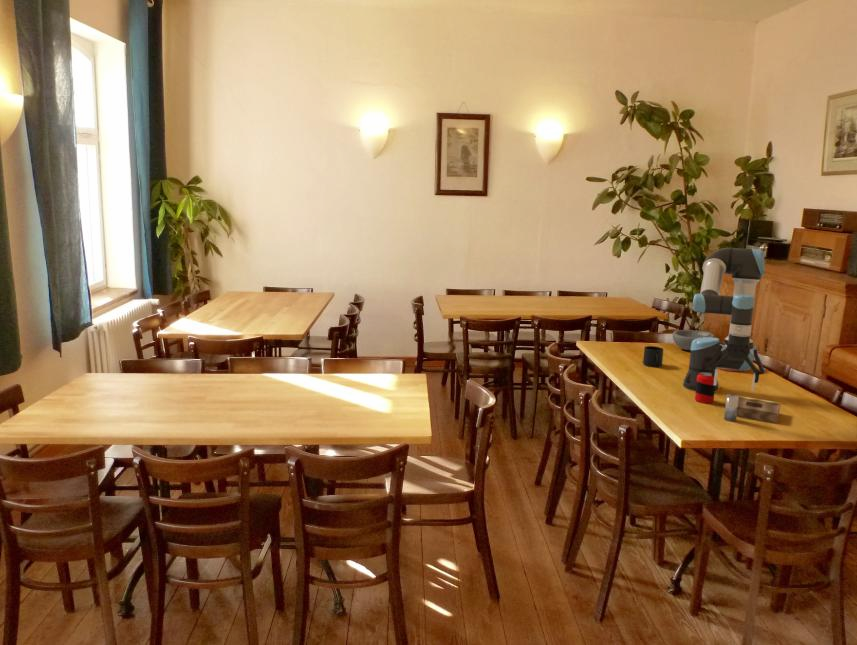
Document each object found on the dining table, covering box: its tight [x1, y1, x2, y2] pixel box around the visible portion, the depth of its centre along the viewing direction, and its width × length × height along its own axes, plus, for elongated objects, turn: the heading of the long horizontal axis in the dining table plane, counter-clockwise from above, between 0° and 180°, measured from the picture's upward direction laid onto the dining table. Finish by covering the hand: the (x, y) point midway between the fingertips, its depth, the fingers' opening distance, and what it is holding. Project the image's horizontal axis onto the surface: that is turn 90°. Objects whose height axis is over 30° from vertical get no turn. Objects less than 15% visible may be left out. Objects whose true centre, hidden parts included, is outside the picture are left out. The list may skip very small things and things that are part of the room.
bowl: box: [672, 329, 716, 352], centre depth 379 cm, size 23×22×10 cm
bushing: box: [723, 393, 740, 422], centre depth 261 cm, size 4×4×10 cm
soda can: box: [694, 372, 716, 404], centre depth 284 cm, size 8×8×12 cm
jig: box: [737, 395, 781, 424], centre depth 268 cm, size 18×14×5 cm
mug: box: [642, 345, 664, 368], centre depth 342 cm, size 9×12×9 cm
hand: (733, 387), depth 259 cm, fingers open, 13 cm apart
